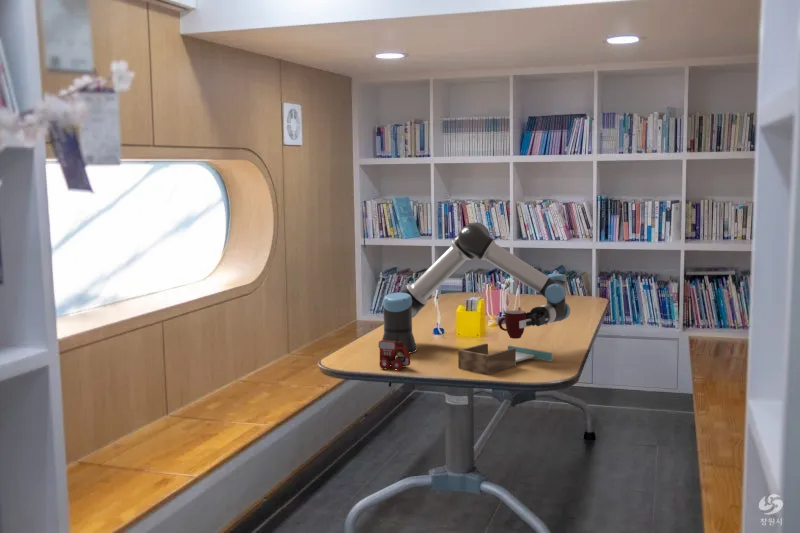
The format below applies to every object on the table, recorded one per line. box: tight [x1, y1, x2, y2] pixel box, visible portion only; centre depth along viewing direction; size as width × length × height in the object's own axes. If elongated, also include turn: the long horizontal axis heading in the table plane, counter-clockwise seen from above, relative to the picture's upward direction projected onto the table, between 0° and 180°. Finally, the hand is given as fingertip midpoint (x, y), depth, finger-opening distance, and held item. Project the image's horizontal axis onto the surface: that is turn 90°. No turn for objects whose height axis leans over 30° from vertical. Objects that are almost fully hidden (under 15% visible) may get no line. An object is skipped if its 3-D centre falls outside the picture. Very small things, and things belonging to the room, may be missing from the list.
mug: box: [498, 309, 527, 340], centre depth 307 cm, size 10×8×10 cm
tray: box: [507, 345, 553, 363], centre depth 307 cm, size 20×16×3 cm
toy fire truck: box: [378, 339, 411, 371], centre depth 300 cm, size 7×12×10 cm, turn 68°
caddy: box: [457, 343, 517, 376], centre depth 298 cm, size 14×16×7 cm
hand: (508, 323), depth 305 cm, fingers closed on mug, 10 cm apart
